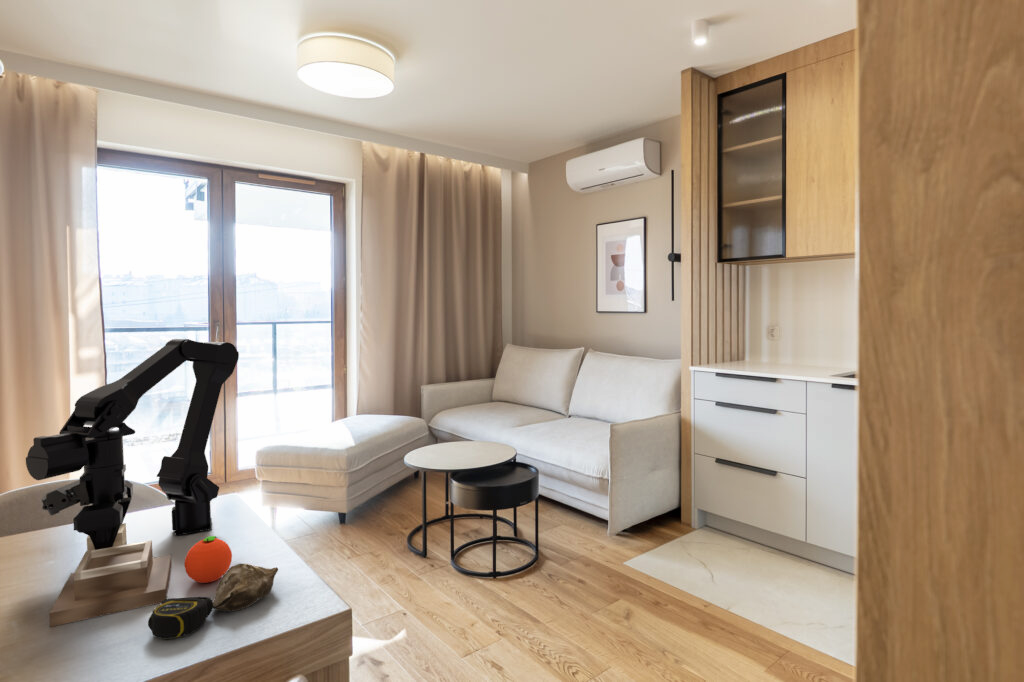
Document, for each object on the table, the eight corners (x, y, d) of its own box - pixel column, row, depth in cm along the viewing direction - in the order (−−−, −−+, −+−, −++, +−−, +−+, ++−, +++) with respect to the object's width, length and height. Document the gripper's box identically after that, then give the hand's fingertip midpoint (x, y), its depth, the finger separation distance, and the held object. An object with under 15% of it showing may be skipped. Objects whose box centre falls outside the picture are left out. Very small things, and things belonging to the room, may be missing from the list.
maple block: (127, 555, 102) (125, 523, 102) (123, 565, 98) (122, 532, 98) (93, 561, 100) (92, 528, 100) (88, 572, 96) (86, 538, 95)
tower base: (171, 565, 98) (170, 532, 97) (165, 601, 85) (164, 563, 85) (71, 585, 91) (69, 549, 91) (49, 626, 79) (47, 585, 78)
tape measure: (215, 616, 81) (215, 591, 81) (192, 644, 74) (191, 616, 74) (167, 619, 81) (166, 593, 81) (139, 647, 74) (138, 619, 74)
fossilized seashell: (228, 610, 78) (292, 592, 86) (221, 562, 81) (283, 549, 89) (202, 624, 82) (266, 606, 90) (196, 578, 84) (258, 564, 92)
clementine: (194, 571, 96) (192, 530, 95) (238, 566, 97) (237, 526, 97) (179, 593, 88) (177, 549, 87) (227, 587, 89) (225, 544, 89)
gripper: (59, 458, 102) (63, 541, 103) (30, 485, 86) (35, 583, 87) (131, 450, 108) (135, 529, 109) (117, 474, 91) (121, 567, 92)
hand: (108, 550), depth 99 cm, fingers open, 9 cm apart
